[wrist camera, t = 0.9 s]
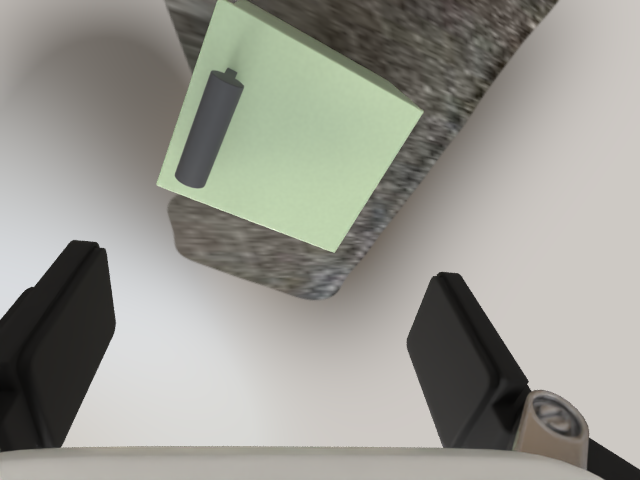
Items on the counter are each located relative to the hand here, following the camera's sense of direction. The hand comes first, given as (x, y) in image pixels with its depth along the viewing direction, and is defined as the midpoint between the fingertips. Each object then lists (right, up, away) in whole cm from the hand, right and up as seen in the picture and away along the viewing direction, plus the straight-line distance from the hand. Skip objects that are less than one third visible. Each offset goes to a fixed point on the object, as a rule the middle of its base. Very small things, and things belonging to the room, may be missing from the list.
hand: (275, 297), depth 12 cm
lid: (-1, +9, +18) cm, 20 cm away
